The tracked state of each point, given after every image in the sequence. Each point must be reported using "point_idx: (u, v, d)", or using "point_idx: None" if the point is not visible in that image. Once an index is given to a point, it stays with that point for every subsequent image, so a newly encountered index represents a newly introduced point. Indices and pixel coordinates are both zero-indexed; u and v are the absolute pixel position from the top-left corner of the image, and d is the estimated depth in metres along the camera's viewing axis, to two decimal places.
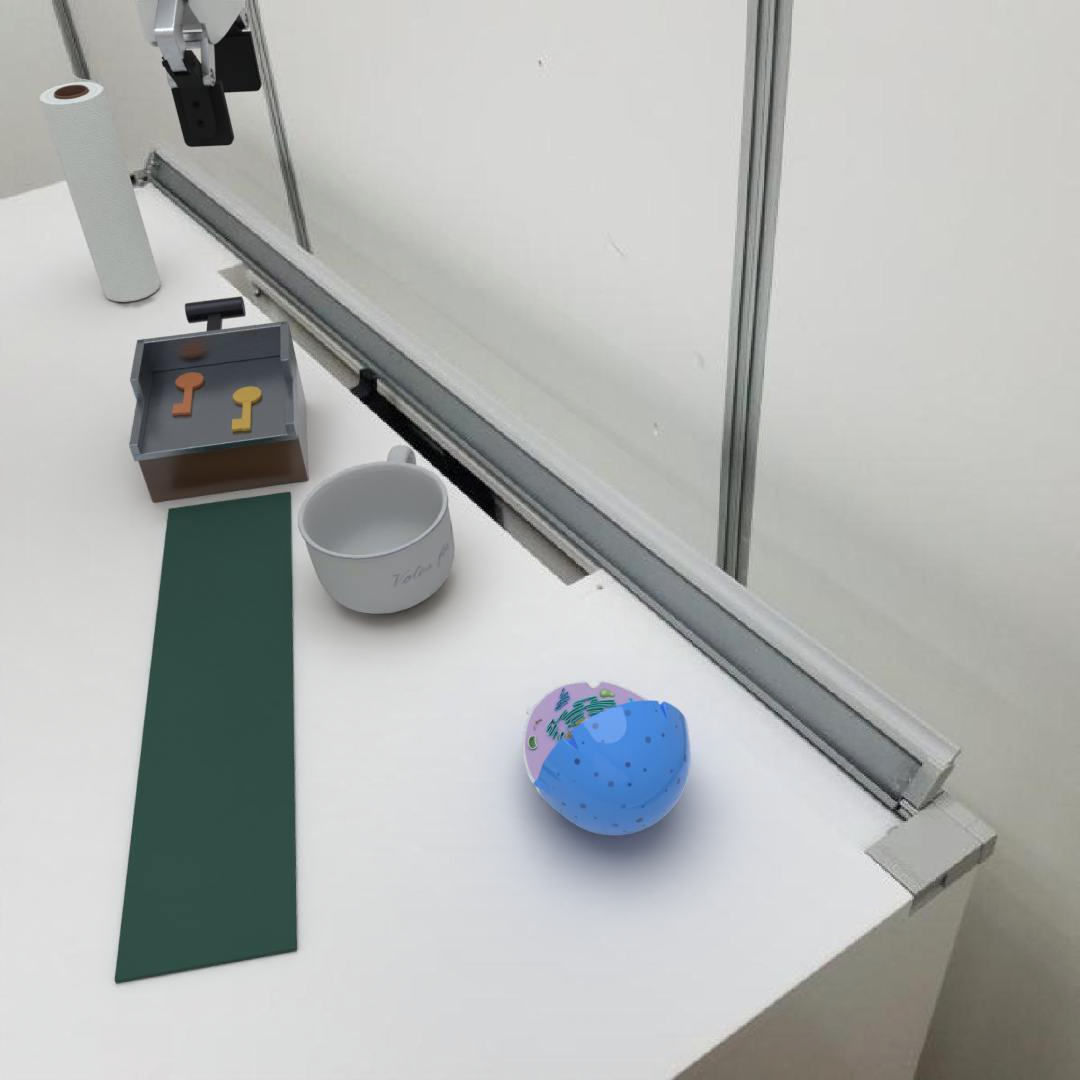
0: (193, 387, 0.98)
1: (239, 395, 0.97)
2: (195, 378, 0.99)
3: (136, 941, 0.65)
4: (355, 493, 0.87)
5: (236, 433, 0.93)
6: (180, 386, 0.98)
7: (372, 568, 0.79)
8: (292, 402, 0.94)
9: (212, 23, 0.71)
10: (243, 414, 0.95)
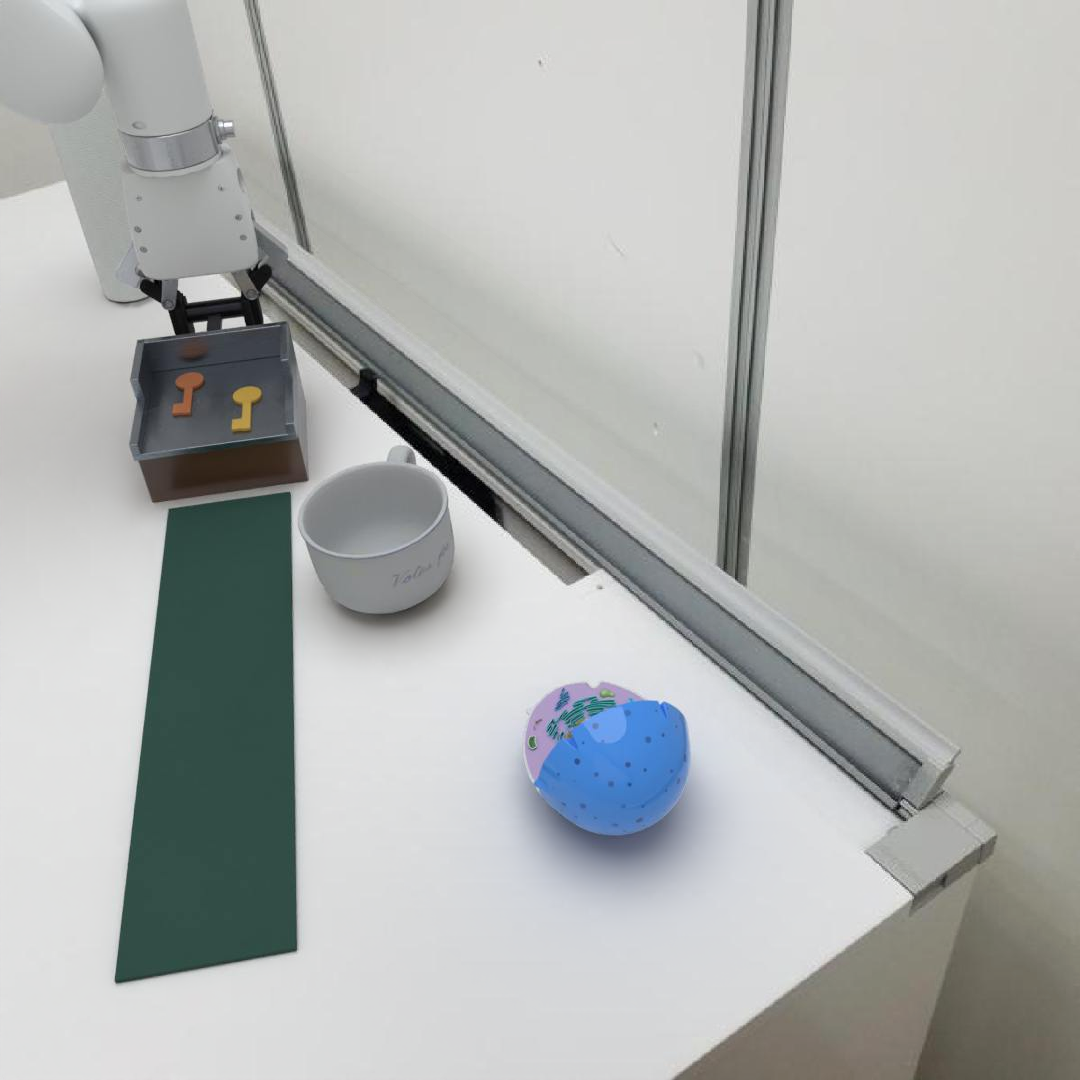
0: (193, 387, 0.98)
1: (239, 395, 0.97)
2: (195, 378, 0.99)
3: (136, 941, 0.65)
4: (355, 493, 0.87)
5: (236, 433, 0.93)
6: (180, 386, 0.98)
7: (372, 568, 0.79)
8: (292, 402, 0.94)
9: (142, 267, 0.97)
10: (243, 414, 0.95)
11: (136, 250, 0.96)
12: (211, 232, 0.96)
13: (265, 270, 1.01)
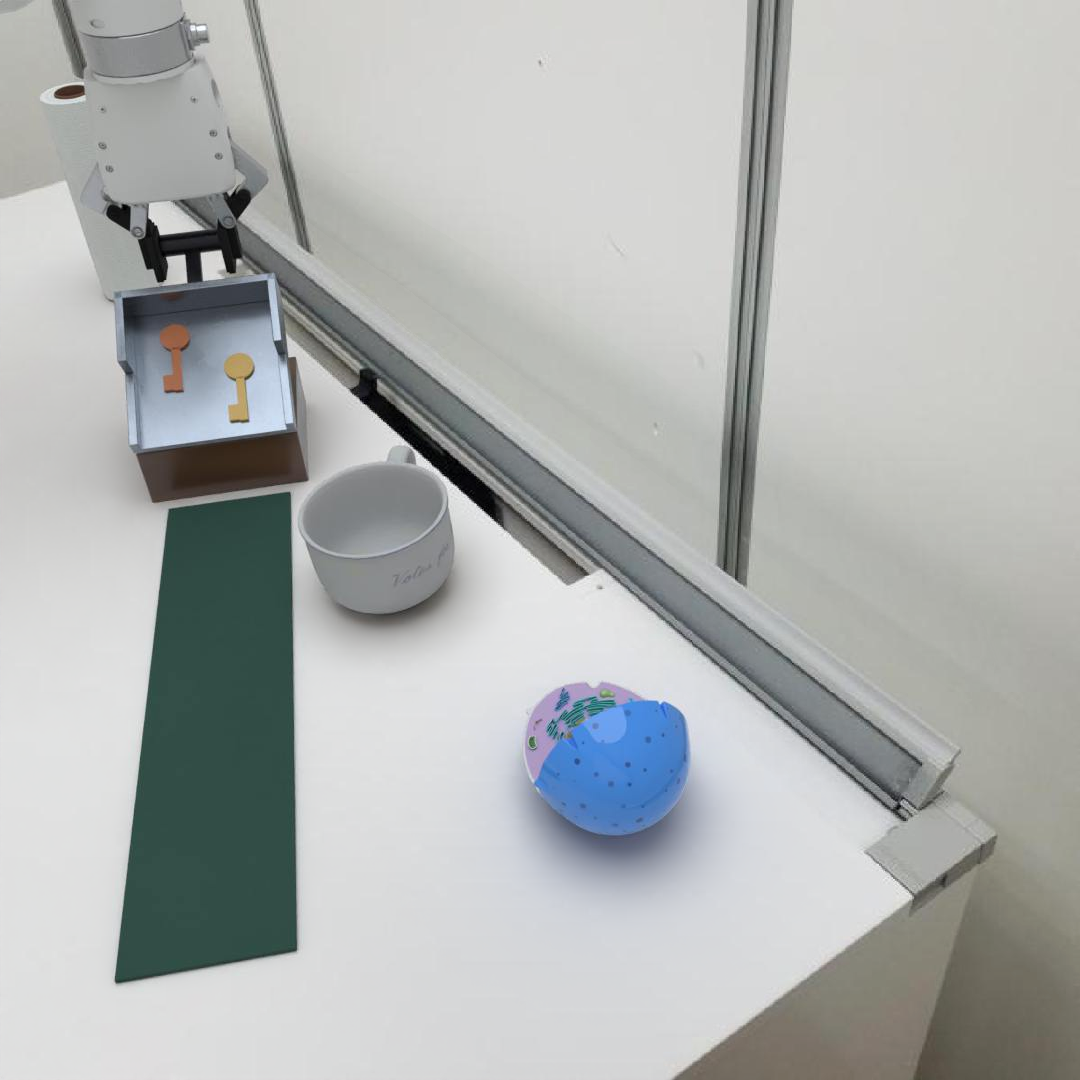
0: (180, 349, 0.95)
1: (231, 367, 0.95)
2: (180, 334, 0.95)
3: (136, 941, 0.65)
4: (355, 493, 0.87)
5: (234, 424, 0.93)
6: (166, 346, 0.95)
7: (372, 568, 0.79)
8: (289, 389, 0.93)
9: (108, 189, 0.89)
10: (239, 398, 0.94)
11: (101, 170, 0.88)
12: (183, 149, 0.88)
13: (243, 195, 0.92)
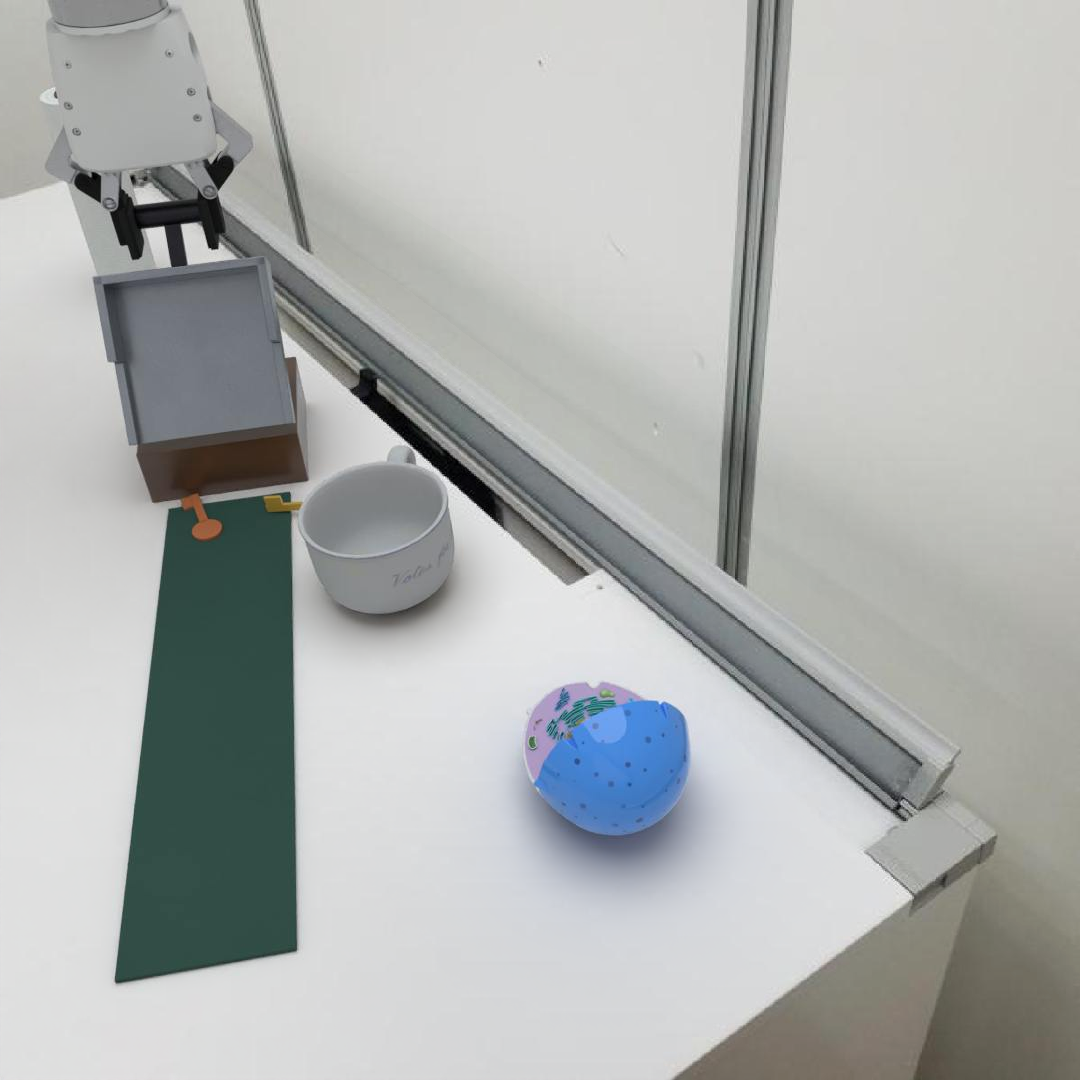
0: None
1: None
2: None
3: (136, 941, 0.65)
4: (355, 493, 0.87)
5: (232, 417, 0.93)
6: None
7: (372, 568, 0.79)
8: (286, 385, 0.92)
9: (76, 155, 0.81)
10: (288, 505, 0.93)
11: (68, 133, 0.80)
12: (158, 110, 0.79)
13: (226, 162, 0.84)
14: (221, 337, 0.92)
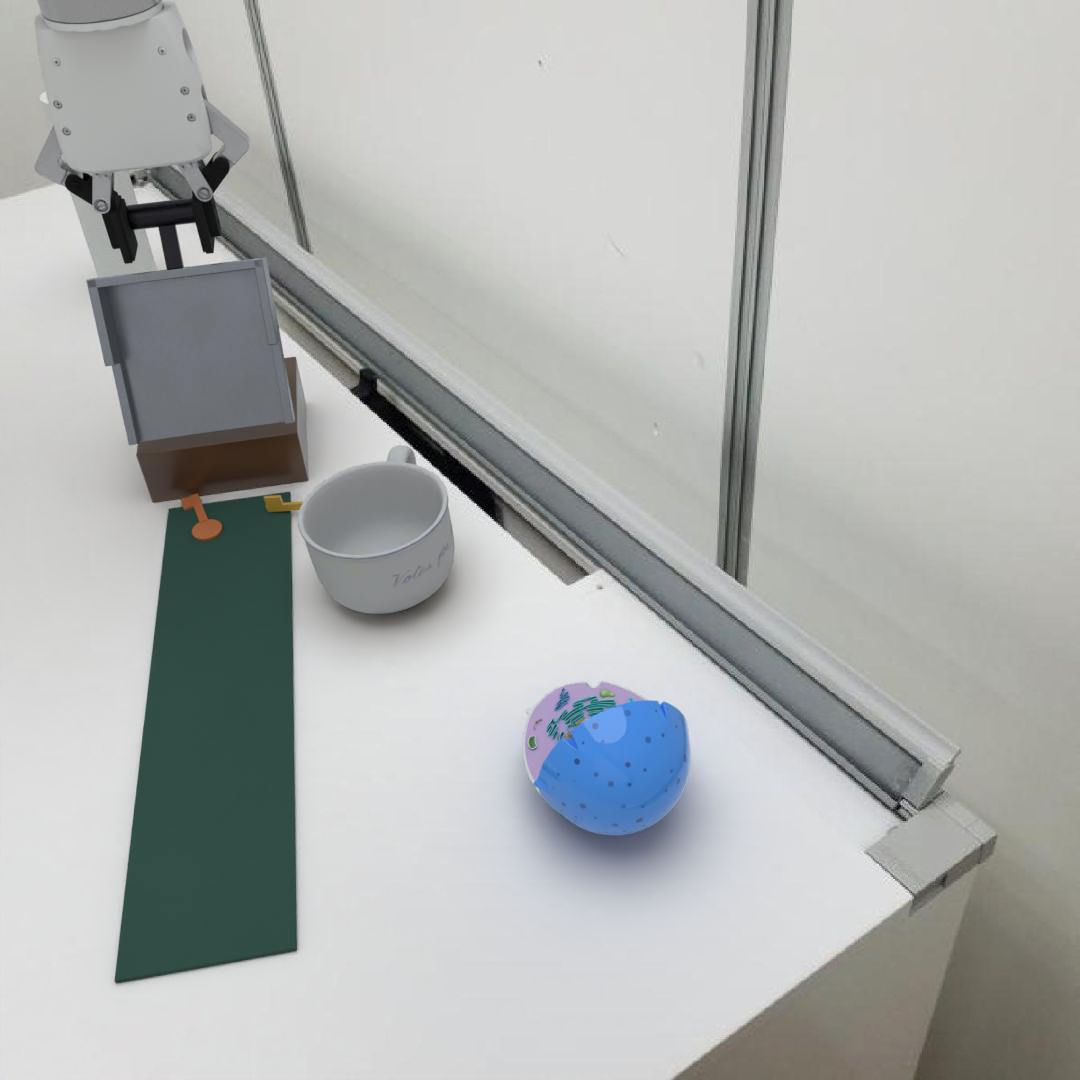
0: None
1: None
2: None
3: (136, 941, 0.65)
4: (355, 493, 0.87)
5: (232, 416, 0.92)
6: None
7: (372, 568, 0.79)
8: (286, 385, 0.91)
9: (66, 156, 0.78)
10: (288, 505, 0.93)
11: (57, 133, 0.77)
12: (151, 109, 0.77)
13: (221, 163, 0.81)
14: (218, 335, 0.91)
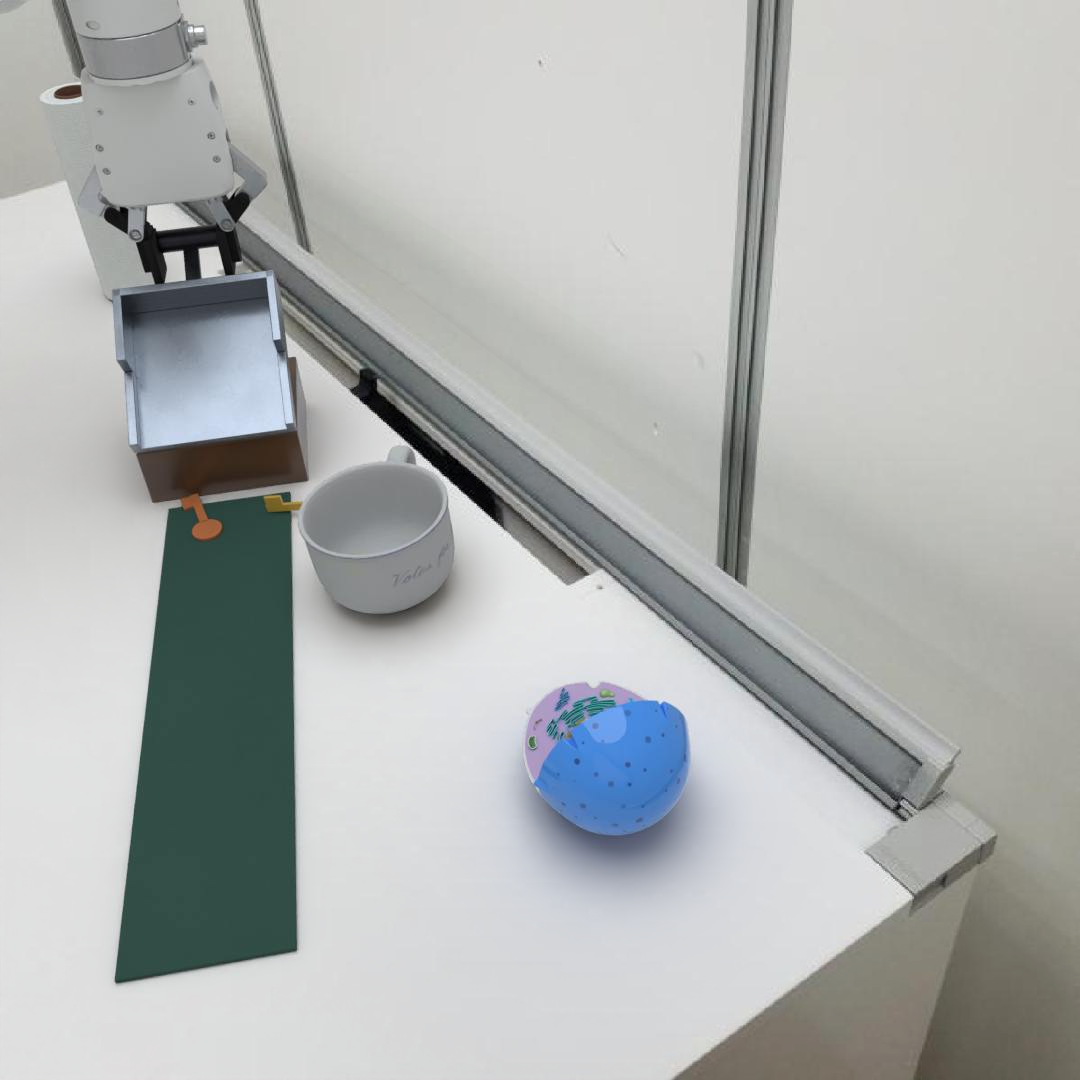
0: None
1: None
2: None
3: (136, 941, 0.65)
4: (355, 493, 0.87)
5: (234, 423, 0.93)
6: None
7: (372, 568, 0.79)
8: (288, 389, 0.93)
9: (106, 192, 0.88)
10: (288, 505, 0.93)
11: (98, 172, 0.87)
12: (181, 152, 0.87)
13: (242, 198, 0.91)
14: (229, 353, 0.95)
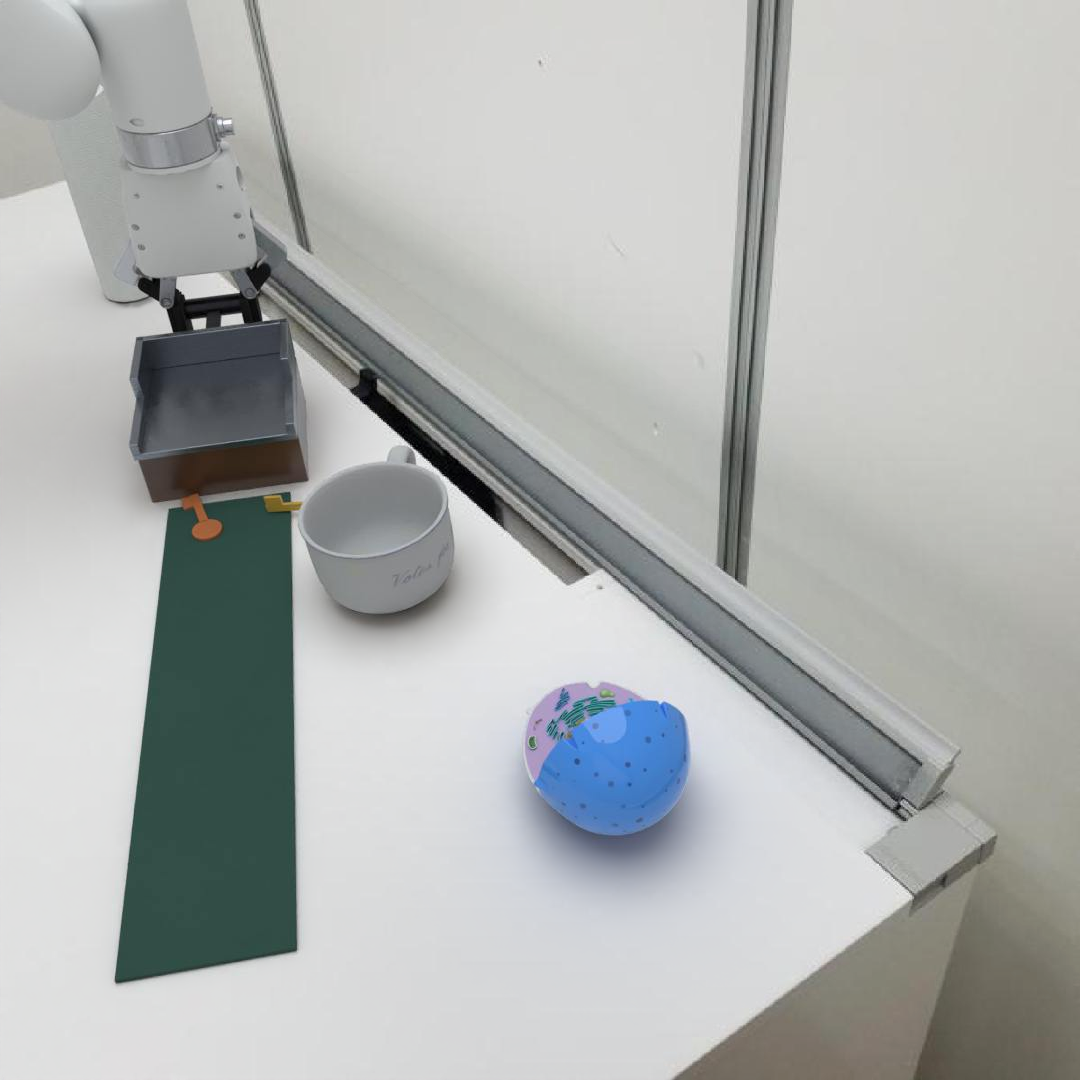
0: None
1: None
2: None
3: (136, 941, 0.65)
4: (355, 493, 0.87)
5: (236, 433, 0.93)
6: None
7: (372, 568, 0.79)
8: (292, 401, 0.94)
9: (140, 265, 0.97)
10: (288, 505, 0.93)
11: (134, 248, 0.96)
12: (209, 230, 0.95)
13: (264, 269, 1.00)
14: (239, 388, 0.98)
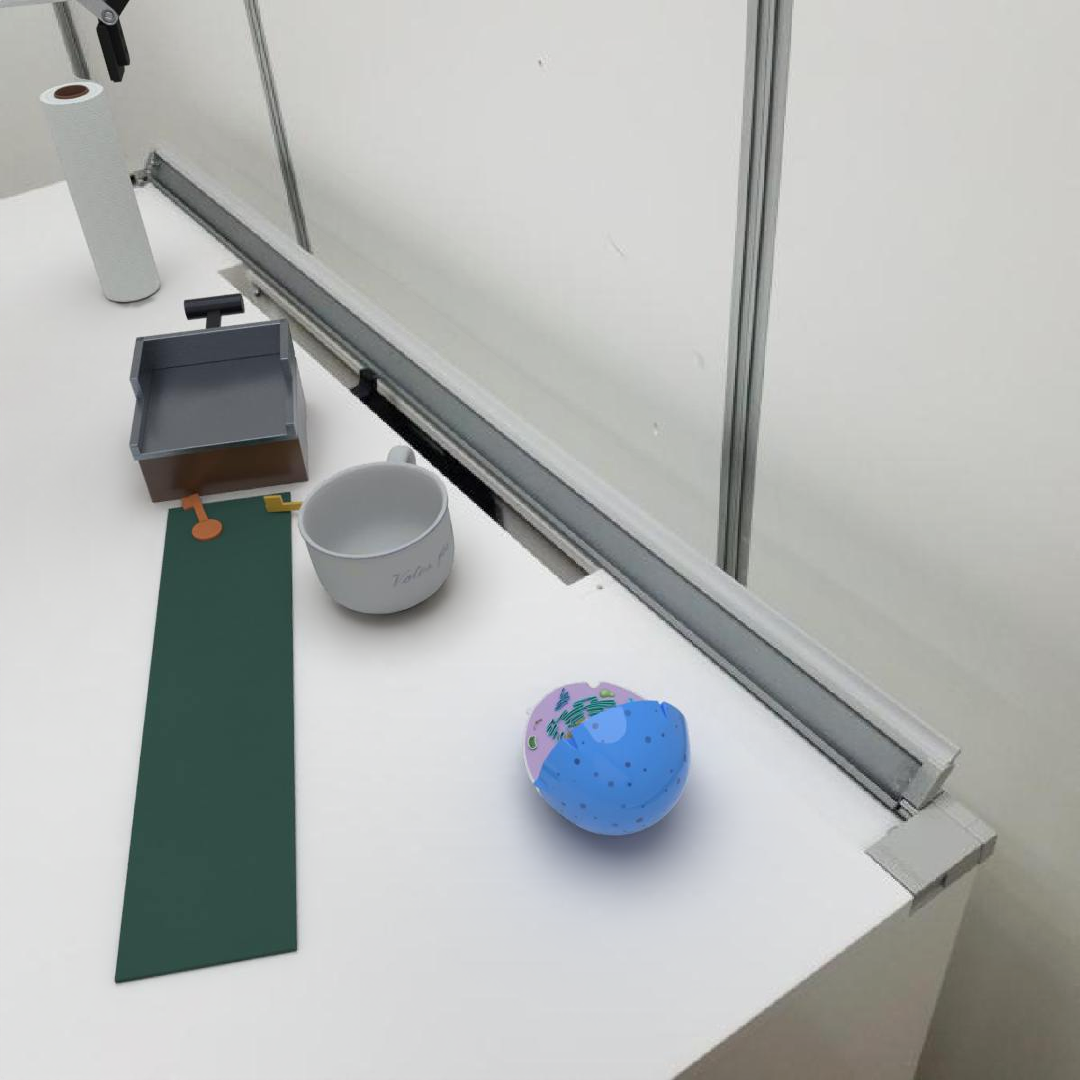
0: None
1: None
2: None
3: (136, 941, 0.65)
4: (355, 493, 0.87)
5: (236, 433, 0.93)
6: None
7: (372, 568, 0.79)
8: (292, 401, 0.94)
9: None
10: (288, 505, 0.93)
11: None
12: None
13: None
14: (239, 388, 0.98)
